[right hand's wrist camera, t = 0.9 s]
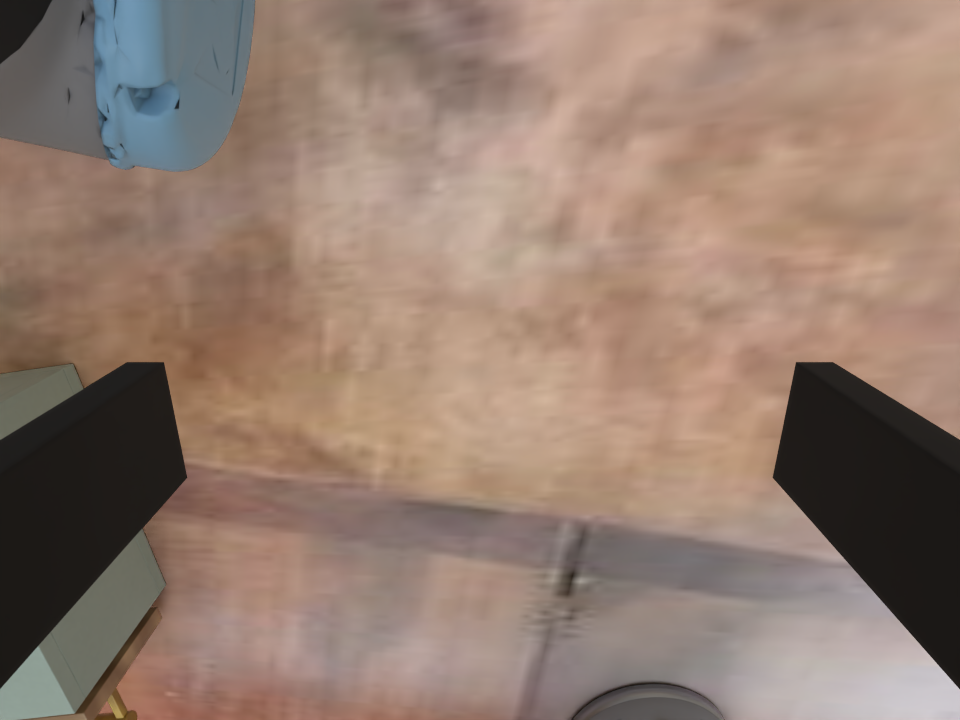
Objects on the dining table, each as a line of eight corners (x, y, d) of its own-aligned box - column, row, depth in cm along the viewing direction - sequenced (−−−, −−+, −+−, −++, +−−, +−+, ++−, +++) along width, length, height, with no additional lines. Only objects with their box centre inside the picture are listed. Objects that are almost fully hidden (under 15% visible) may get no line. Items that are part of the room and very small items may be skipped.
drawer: (186, 673, 50) (123, 787, 41) (71, 686, 50) (-17, 802, 41) (76, 419, 41) (-34, 493, 32) (-62, 437, 42) (-207, 516, 33)
